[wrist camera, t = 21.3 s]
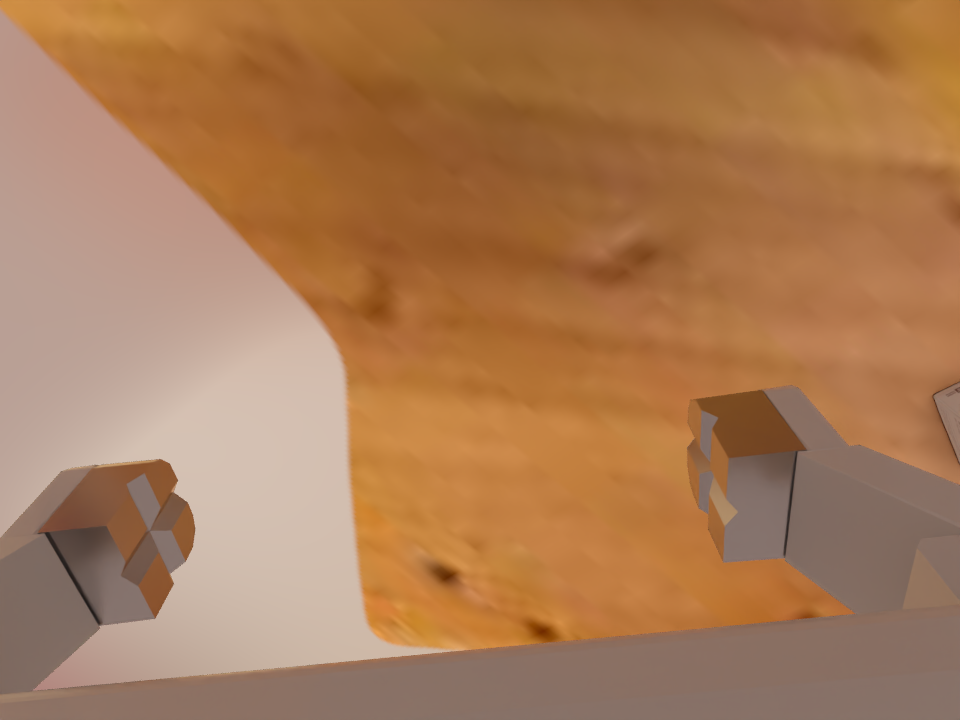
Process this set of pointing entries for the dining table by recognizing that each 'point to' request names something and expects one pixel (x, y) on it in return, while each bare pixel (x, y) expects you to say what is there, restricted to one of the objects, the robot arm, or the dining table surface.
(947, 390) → the supplement box
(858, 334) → the dining table surface
